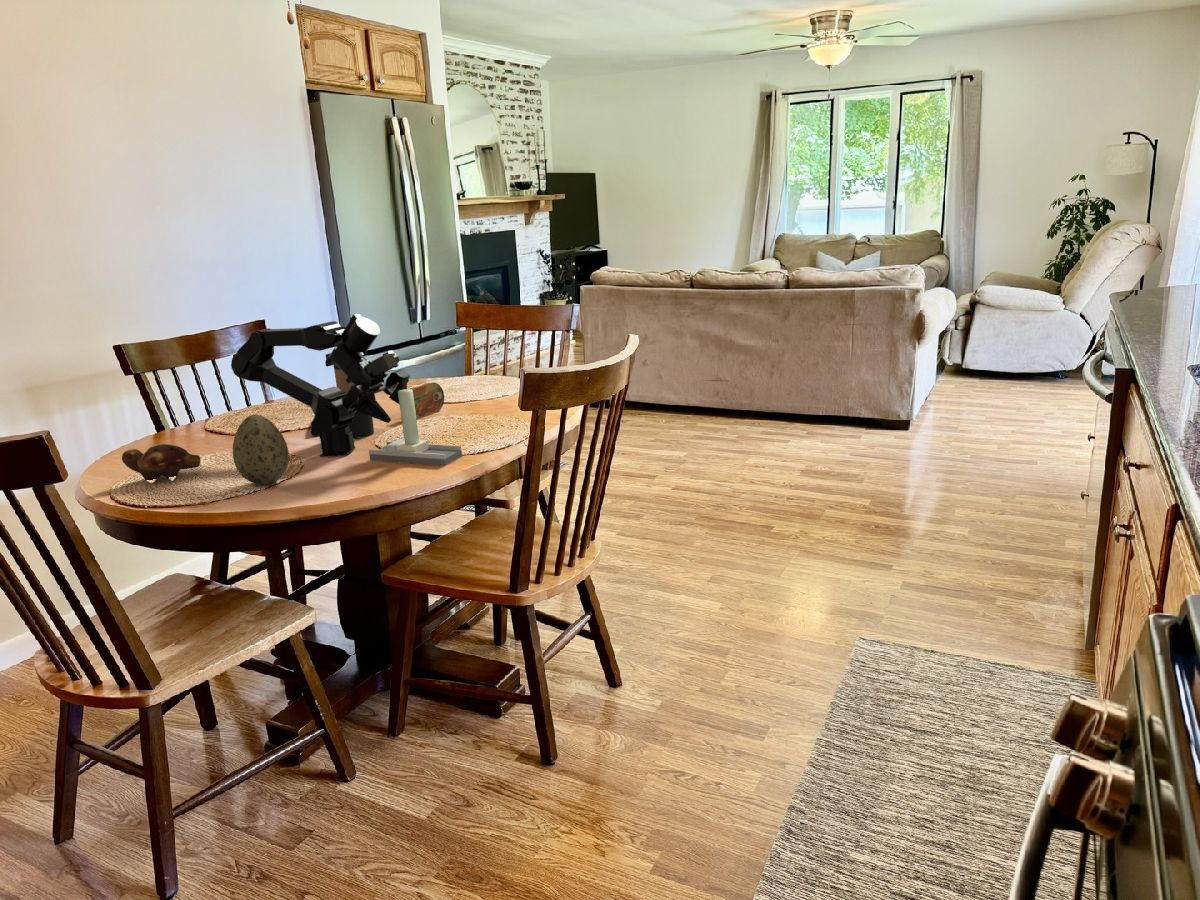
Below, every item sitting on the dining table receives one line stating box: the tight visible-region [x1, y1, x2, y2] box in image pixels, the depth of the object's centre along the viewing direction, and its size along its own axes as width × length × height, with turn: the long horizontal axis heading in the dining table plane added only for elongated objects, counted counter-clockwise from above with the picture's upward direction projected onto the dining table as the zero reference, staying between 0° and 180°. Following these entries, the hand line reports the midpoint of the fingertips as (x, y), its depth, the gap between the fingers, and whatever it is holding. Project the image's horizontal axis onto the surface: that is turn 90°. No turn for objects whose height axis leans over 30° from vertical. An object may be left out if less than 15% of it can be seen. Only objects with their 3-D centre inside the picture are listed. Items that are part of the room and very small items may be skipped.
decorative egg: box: [232, 414, 290, 485], centre depth 173 cm, size 11×11×15 cm
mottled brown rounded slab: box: [408, 381, 445, 420], centre depth 225 cm, size 15×3×8 cm, turn 148°
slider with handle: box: [396, 388, 430, 453], centre depth 184 cm, size 5×5×14 cm
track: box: [368, 438, 463, 467], centre depth 185 cm, size 20×7×4 cm, turn 67°
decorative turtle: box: [121, 443, 201, 481], centre depth 182 cm, size 10×15×8 cm, turn 120°
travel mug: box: [333, 364, 375, 439], centre depth 207 cm, size 8×8×20 cm
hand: (402, 416), depth 184 cm, fingers open, 9 cm apart
